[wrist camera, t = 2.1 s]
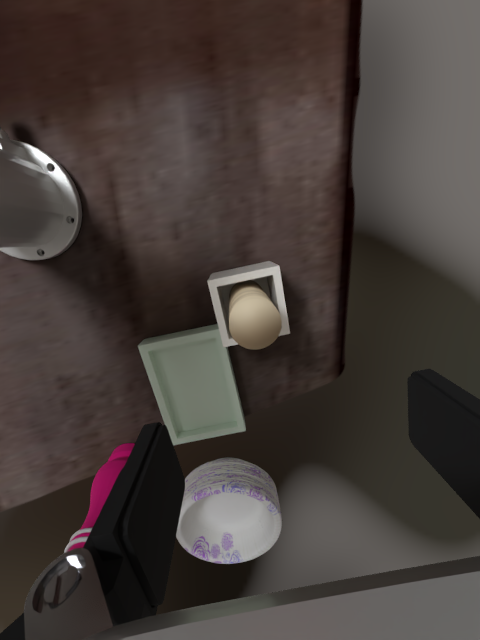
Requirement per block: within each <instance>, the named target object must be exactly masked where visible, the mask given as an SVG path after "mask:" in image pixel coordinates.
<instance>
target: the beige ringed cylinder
mask: <svg viewBox="0 0 480 640" xmlns="http://www.w3.org/2000/svg"><path fill="white" fill-rule="evenodd" d="M281 327H282V321H281V316H280V314H279V312H278V310H277V309H276V307H275V306H274V305H273V303H272V302H271V300H270V299H269V297H268V296H267V295H266V293H265V292H264V290H263V289H262V288H261V286H260V285H259V284H258V283H256V282H255V281H252V280H246V281H242V282H237V283H236V284H235V285H234V286H233V287H232V289H231V291H230V295H229V330H230V333H231V336H232V337H233V339H234V340H235V341H236V342H237V343H238V344H239V345H240V346H242V347H244V348H247V349H253V350H257V349H262V348H265V347H267V346H269V345H271V344H272V343H273V342H274V341H275V340H276V339H277V337H278V336H279V334H280V331H281Z"/></svg>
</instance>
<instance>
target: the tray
mask: <svg viewBox="0 0 480 640" xmlns="http://www.w3.org/2000/svg"><path fill="white" fill-rule="evenodd" d="M138 348H139V351H140V354H141V357H142V360H143V363H144V366H145V369H146V371H147V374H148V377H149V380H150V383H151V386H152V389H153V392H154V395H155V397H156V400H157V403H158V406H159V409H160V412H161V415H162V418H163V421H164V423H165V425H166V426H167V429H168V432H169V435H170V438H171V440H172V443H173V445H177V444H183V443H187V442H193V441H198V440H203V439H208V438H213V437H218V436H223V435H228V434H233V433H237V432H243V431H246V426H245V418H244V413H243V409H242V405H241V401H240V397H239V392H238V388H237V384H236V380H235V376H234V371H233V367H232V363H231V359H230V355H229V350H228V347H223V344H222V340H221V335H220V331H219V327H218V324H214V325H209V326H204V327H200V328H195V329H190V330H185V331H180V332H176V333H171V334H166V335H161V336H157V337H152V338H147V339H144V340H143V341H142V342H141V343H140V344H139V345H138Z"/></svg>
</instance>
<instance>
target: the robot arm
mask: <svg viewBox="0 0 480 640" xmlns="http://www.w3.org/2000/svg"><path fill="white" fill-rule="evenodd" d="M54 168H55V170H54ZM73 219H74V222H73ZM81 222H82V207H81V201H80V197H79V193H78V191H77V189H76V187H75V184H74V182H73V180H72V179H71V177H70V176H69V174H68V173H67V171H66V170H65V169H64V168H63V167H62V166H61V165H60V164H59V162H57V161H56V160H55V159H54V158H52V157H51V156H50V155H49V154H47V153H45V152H44V151H42V150H40V149H38V148H36V147H34V146H32V145H29V144H27V143H24V142H20V141H16V140H10V139H9V137H8V134H7V133H6V132H5V131H2V130H1V128H0V251H2V252H4V253H6V254H8V255H10V256H13V257H16V258H19V259H24V260H44V259H50V258H53V257H55V256H58V255H60V254H62V253H63V252H65V251H66V250H67V249H68V248H69V247H70V246H71V245H72V244H73V243H74V241H75V239H76V238H77V236H78V234H79V230H80V227H81ZM408 418H409V437H410V440H411V442H412V444H413V445H414V446H415V448H416V449H417V450H418V451H419V452H420V453H421V454H422V455H423V456H424V458H425V459H426V460H427V461H428V462H429V463H430V464H431V465H432V466H433V467H434V469H436V471H437V472H438V473H439V474H440V475H441V476H442V477H443V479H444V480H445V481H446V482H447V483H448V484H449V485H450V486H451V487H452V488H453V490H454V491H456V493H457V494H458V495H459V496H460V497H461V498H462V500H463V501H464V502H465V503H466V504H467V505H468V506H469V507H470V508H471V509H472V511H473V512H474V513H475V514H476V515H477V516H478V517H479V518H480V399H478V398H476V397H475V396H473V395H472V394H470V393H468V392H467V391H465V390H464V389H462V388H461V387H459V386H457V385H456V384H454V383H453V382H451V381H449V380H448V379H446V378H445V377H443V376H441V375H440V374H438V373H437V372H435V371H433V370H431V369H425V370H420V371H415V372H413V373H412V374H411V377H409V378H408ZM184 491H185V479H184V476H183V473H182V470H181V467H180V464H179V461H178V458H177V455H176V452H175V449H174V446H173V443H172V440H171V438H170V435H169V432H168V429H167V426H166V425H162V424H161V423H160V422H157V423H152V424H147V425H144V427H143V428H142V430H141V432H140V435H139V437H138V439H137V441H136V443H135V445H134V447H133V449H132V451H131V453H130V455H129V457H128V459H127V462H126V464H125V466H124V467H123V468H122V470H121V471H120V473H119V475H118V477H117V479H116V481H115V483H114V485H113V487H112V489H111V491H110V493H109V495H108V497H107V499H106V501H105V504H104V506H103V508H102V510H101V512H100V514H99V516H98V518H97V520H96V522H95V524H94V526H93V528H92V530H91V532H90V534H89V536H88V538H87V540H86V542H85V544H84V547H83V548H76V549H73V550H70V551H68V552H66V553H64V554H63V555H61V556H60V557H58V558H57V559H55V560H54V561H53V562H52V563H51V564H50V565H49V566H48V567H47V568H46V569H45V570H44V571H43V572H42V574H41V575H40V576H39V577H38V578H37V580H36V581H35V583H34V585H33V586H32V588H31V589H30V591H29V594H28V596H27V599H26V601H25V609H24V613H23V614H22V615H21V616H20V617H19V618H17V619H16V620H15V621H14V622H13V623H12V624H11V625H10V626H8V627H7V628H6V629H5V630H4V631H3V632H2V633H0V640H480V556H477V557H471V558H464V559H459V560H453V561H447V562H441V563H435V564H430V565H424V566H418V567H412V568H406V569H400V570H395V571H389V572H384V573H379V574H372V575H366V576H361V577H355V578H350V579H344V580H338V581H333V582H327V583H322V584H316V585H310V586H305V587H299V588H294V589H289V590H283V591H278V592H272V593H267V594H261V595H256V596H250V597H245V598H240V599H234V600H229V601H224V602H218V603H213V604H208V605H202V606H198V607H193V608H188V609H183V610H178V611H173V612H169V613H164V614H159V615H156V611H157V606H158V605H161V604H162V603H163V600H164V596H165V591H166V585H167V581H168V575H169V570H170V565H171V559H172V554H173V549H174V543H175V538H176V533H177V528H178V523H179V517H180V512H181V507H182V501H183V496H184Z"/></svg>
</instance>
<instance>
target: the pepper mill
mask: <svg viewBox="0 0 480 640" xmlns="http://www.w3.org/2000/svg"><path fill="white" fill-rule="evenodd" d="M134 445H135V444H134V443H126V444H122V445H120V446H118V447H117V448H115V449H114V451H113V453H112V454H111V456H110V458H109V460H108V462H107V463H105V464H104V465H103V466H102V467H101V468H100V469H99V471H98V472H97V474H96V476H95V478H94V481H93V484H92V489H91V501H90V502H91V503H90V509H89V512H88V515H87V518H86V520H85V522H84V524H83V526H82V527H81V529H80V530H79V531H77V532H76V533H74V535H73V536H72V537H71V539H70V543H69V544H68V545H67V546H66V549H65V553H66V552H68V551H70V550H73V549H76V548H83V547H84V544H85V542H86V540H87V538H88V536H89V534H90V532H91V530H92V528H93V526H94V524H95V522H96V520H97V518H98V516H99V514H100V512H101V510H102V508H103V506H104V504H105V501H106V499H107V497H108V495H109V493H110V491H111V489H112V487H113V485H114V483H115V481H116V479H117V477H118V475H119V473H120V471H121V470H122V468H123V467H124V466H125V464H126V462H127V459H128V457H129V455H130V453H131V451H132V449H133V447H134Z"/></svg>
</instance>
